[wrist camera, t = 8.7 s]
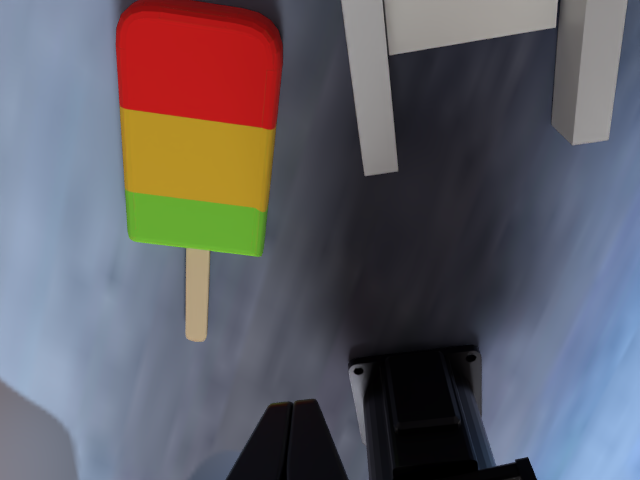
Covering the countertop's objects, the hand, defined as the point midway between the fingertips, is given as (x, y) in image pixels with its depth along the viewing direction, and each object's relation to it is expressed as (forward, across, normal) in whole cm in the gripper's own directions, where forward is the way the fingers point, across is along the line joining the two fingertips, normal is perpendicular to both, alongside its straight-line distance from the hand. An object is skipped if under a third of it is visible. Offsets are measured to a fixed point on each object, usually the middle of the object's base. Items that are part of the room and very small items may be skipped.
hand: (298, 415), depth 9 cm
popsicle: (+14, +5, +2) cm, 15 cm away
